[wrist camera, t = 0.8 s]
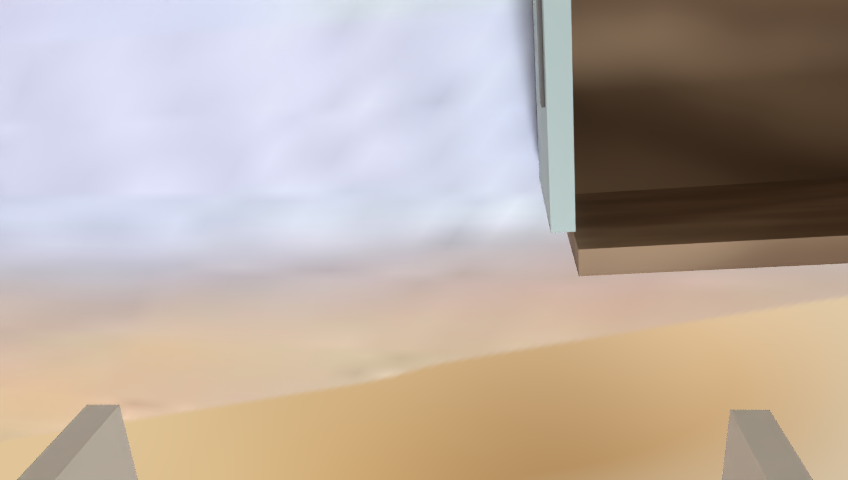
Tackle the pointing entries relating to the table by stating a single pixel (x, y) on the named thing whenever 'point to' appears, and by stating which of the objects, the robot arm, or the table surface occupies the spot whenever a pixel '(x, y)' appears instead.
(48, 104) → the table surface
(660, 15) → the brown open rectangular box
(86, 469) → the robot arm
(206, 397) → the table surface
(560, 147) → the panel
